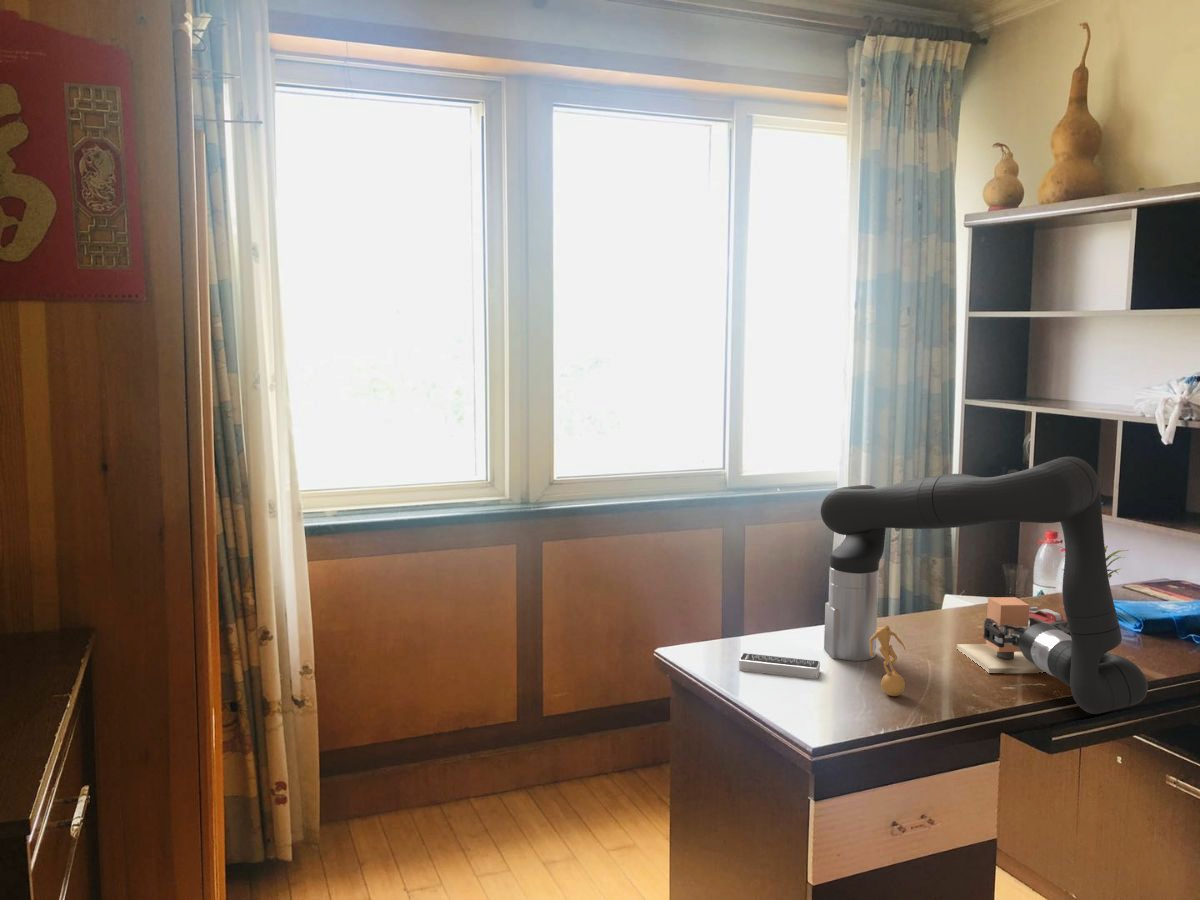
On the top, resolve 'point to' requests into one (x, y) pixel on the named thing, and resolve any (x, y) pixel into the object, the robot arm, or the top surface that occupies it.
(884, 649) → the figurine
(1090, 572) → the robot arm
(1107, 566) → the house plant
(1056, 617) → the walkie-talkie
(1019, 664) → the post stand
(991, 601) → the tall salmon pillar
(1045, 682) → the top surface
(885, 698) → the top surface
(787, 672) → the multiport hub
